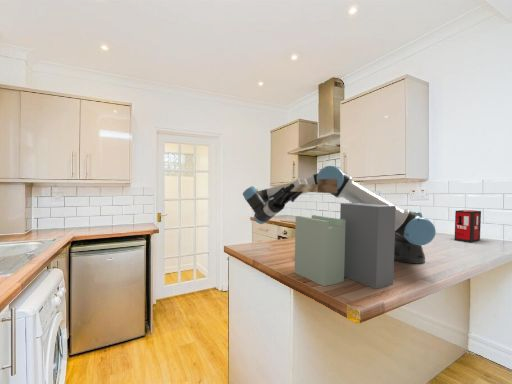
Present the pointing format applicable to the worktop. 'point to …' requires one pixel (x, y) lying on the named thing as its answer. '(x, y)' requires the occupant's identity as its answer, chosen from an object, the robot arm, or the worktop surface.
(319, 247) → the sage green tall box
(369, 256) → the tall grey upright slab
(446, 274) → the worktop surface
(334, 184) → the mallet
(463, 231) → the cleaning product box
